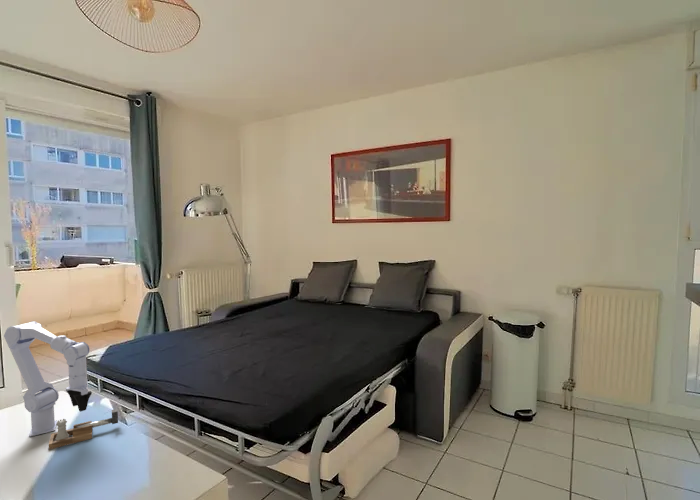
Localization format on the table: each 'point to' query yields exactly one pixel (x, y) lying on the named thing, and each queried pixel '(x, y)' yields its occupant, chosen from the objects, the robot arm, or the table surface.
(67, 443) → the wooden frame
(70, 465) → the table surface
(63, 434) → the rook chess piece
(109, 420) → the grey metal hammer
